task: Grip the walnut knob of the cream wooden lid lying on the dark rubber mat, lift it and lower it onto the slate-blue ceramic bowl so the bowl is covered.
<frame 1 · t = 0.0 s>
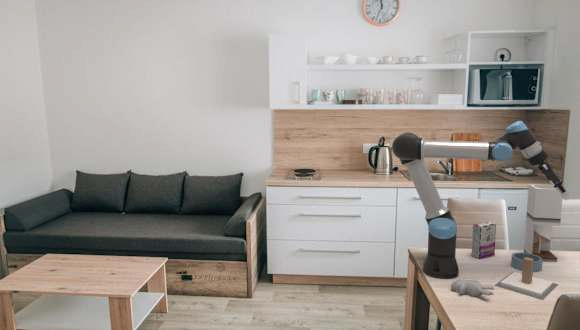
hand: (564, 195, 182), 36 cm above the table, tool tilted 35°, fingers open, 13 cm apart
bunny figurine: (471, 294, 171), on the table
candy bar box: (482, 256, 212), on the table
slate bowl: (525, 268, 195), on the table
cream lid: (526, 284, 176), point 1 cm above the table, touching rubber mat
display case: (539, 257, 209), on the table
rubber mat: (526, 286, 176), on the table
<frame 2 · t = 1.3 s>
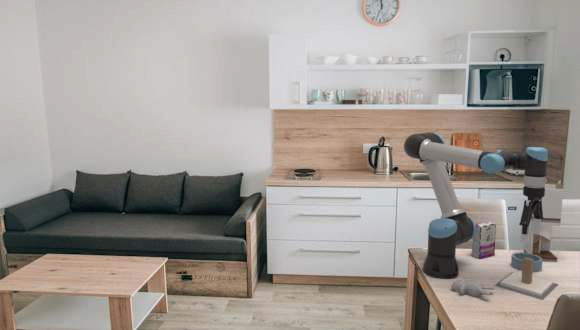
hand: (530, 237, 174), 21 cm above the table, tool pointing down, fingers open, 13 cm apart
nothing on the table moved.
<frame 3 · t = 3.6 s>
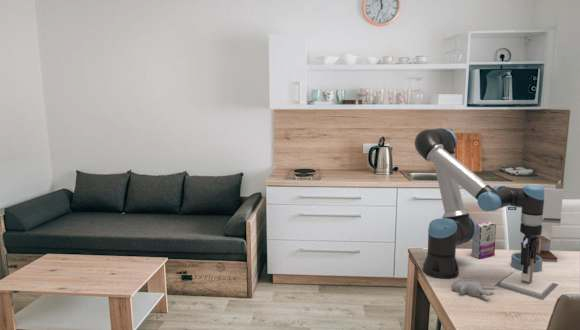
hand: (526, 279, 176), 3 cm above the table, tool pointing down, fingers closed on cream lid, 3 cm apart
cream lid: (526, 284, 176), point 1 cm above the table, touching gripper, rubber mat
everything else where it was.
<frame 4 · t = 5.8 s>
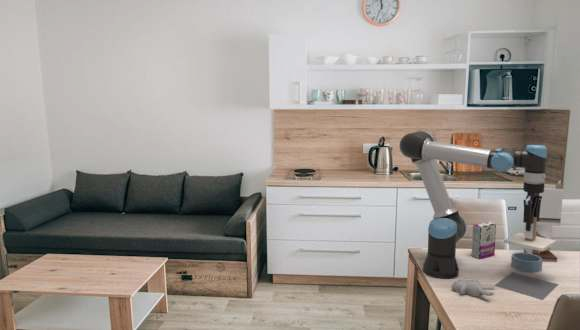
hand: (530, 236, 181), 19 cm above the table, tool pointing down, fingers closed on cream lid, 3 cm apart
cream lid: (529, 242, 182), point 16 cm above the table, touching gripper
everything else where it was.
when the fingers open (10 cm above the table, at t = 8.3 s): cream lid drops 2 cm, resting on slate bowl.
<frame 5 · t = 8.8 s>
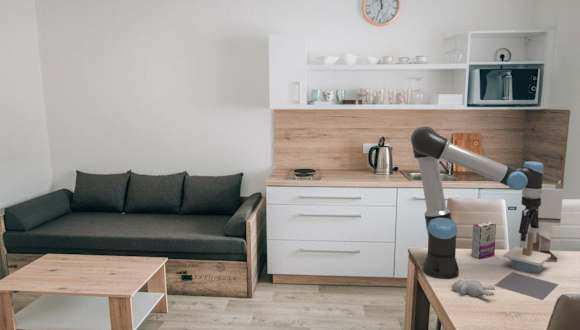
hand: (527, 244, 194), 11 cm above the table, tool pointing down, fingers open, 10 cm apart
slate bowl: (525, 268, 195), on the table, touching cream lid
cream lid: (526, 257, 194), point 5 cm above the table, touching slate bowl
everything else where it was.
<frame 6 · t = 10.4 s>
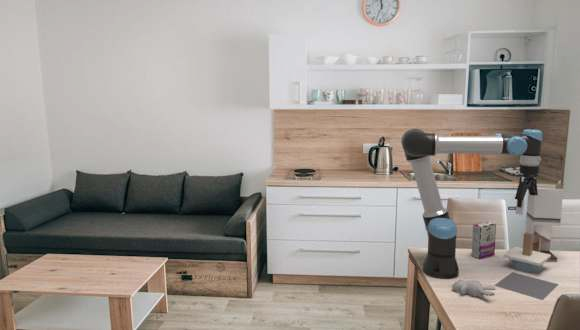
hand: (525, 211, 193), 26 cm above the table, tool pointing down, fingers open, 13 cm apart
nothing on the table moved.
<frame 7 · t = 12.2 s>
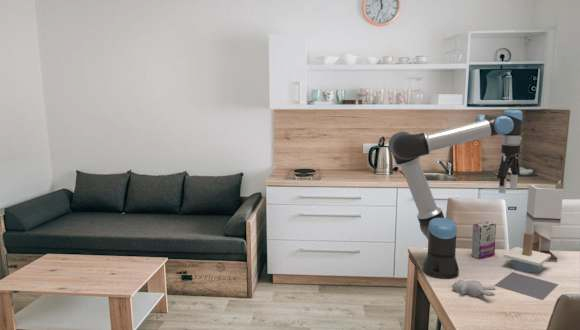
hand: (507, 190, 197), 35 cm above the table, tool pointing down, fingers open, 13 cm apart
nothing on the table moved.
at the end: cream lid 0.1 cm off-centre on the slate bowl, point 5.5 cm above the slate bowl's base; cream lid tilted 0°; cream lid touching slate bowl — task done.
